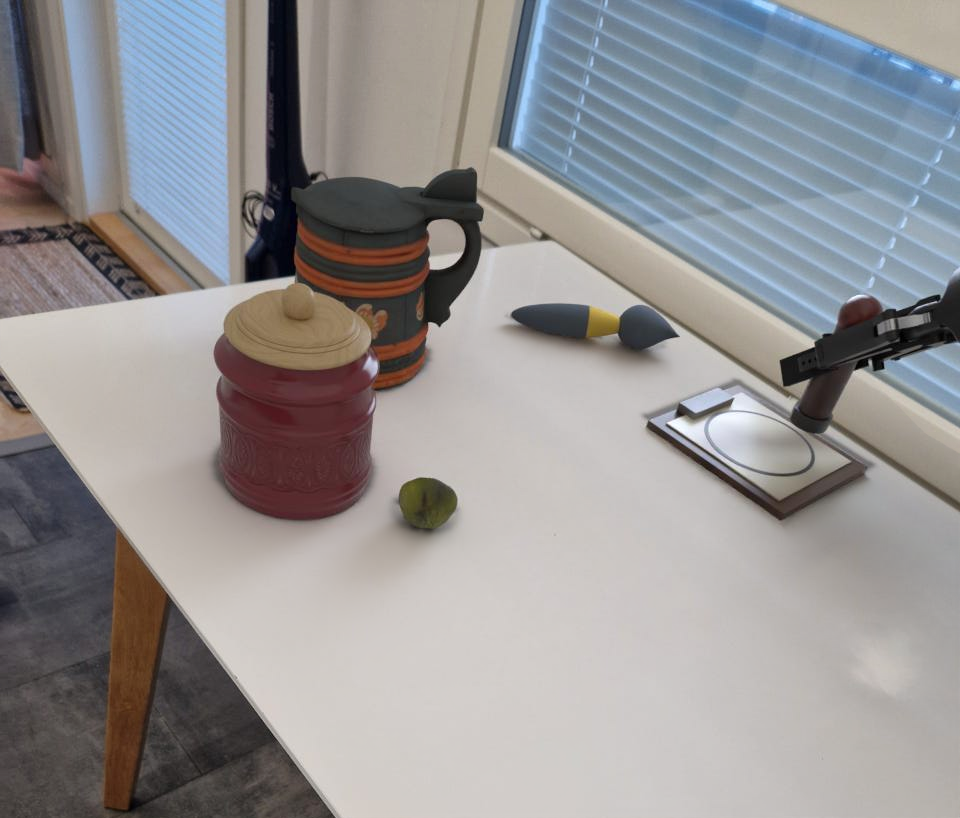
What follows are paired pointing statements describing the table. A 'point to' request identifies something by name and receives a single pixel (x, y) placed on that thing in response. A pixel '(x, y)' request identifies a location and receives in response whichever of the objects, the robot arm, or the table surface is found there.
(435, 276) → the beer stein
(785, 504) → the clipboard
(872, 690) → the table surface
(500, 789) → the table surface
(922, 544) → the table surface
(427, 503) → the lime
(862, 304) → the dot stamp
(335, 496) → the kitchen canister
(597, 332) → the paintbrush
